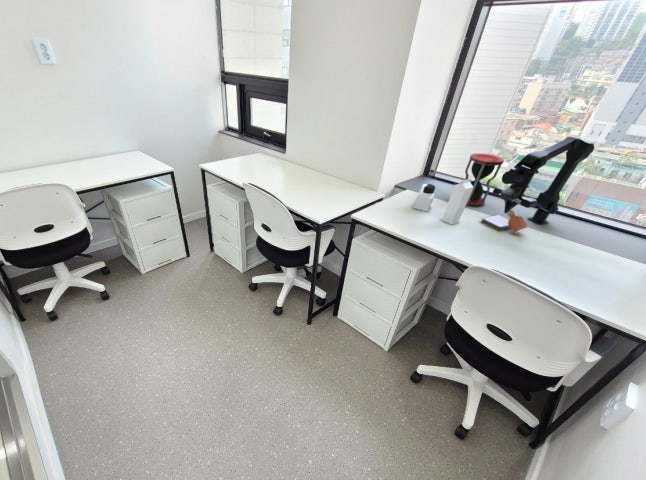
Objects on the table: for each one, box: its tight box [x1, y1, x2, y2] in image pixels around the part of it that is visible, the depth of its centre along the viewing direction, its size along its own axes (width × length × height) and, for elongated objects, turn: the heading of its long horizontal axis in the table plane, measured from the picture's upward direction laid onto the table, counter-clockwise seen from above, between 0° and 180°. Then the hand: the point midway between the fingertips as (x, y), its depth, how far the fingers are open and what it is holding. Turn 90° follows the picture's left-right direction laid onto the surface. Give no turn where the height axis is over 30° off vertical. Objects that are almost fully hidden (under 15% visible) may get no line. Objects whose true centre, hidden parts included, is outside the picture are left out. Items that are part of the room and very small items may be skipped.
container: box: [412, 183, 436, 212], centre depth 169 cm, size 8×8×13 cm
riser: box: [480, 214, 511, 232], centre depth 158 cm, size 12×10×2 cm
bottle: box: [506, 209, 529, 234], centre depth 151 cm, size 11×6×8 cm, turn 23°
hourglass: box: [459, 153, 505, 207], centre depth 175 cm, size 16×16×25 cm
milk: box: [441, 178, 473, 225], centre depth 154 cm, size 6×6×22 cm
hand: (505, 213), depth 154 cm, fingers closed
